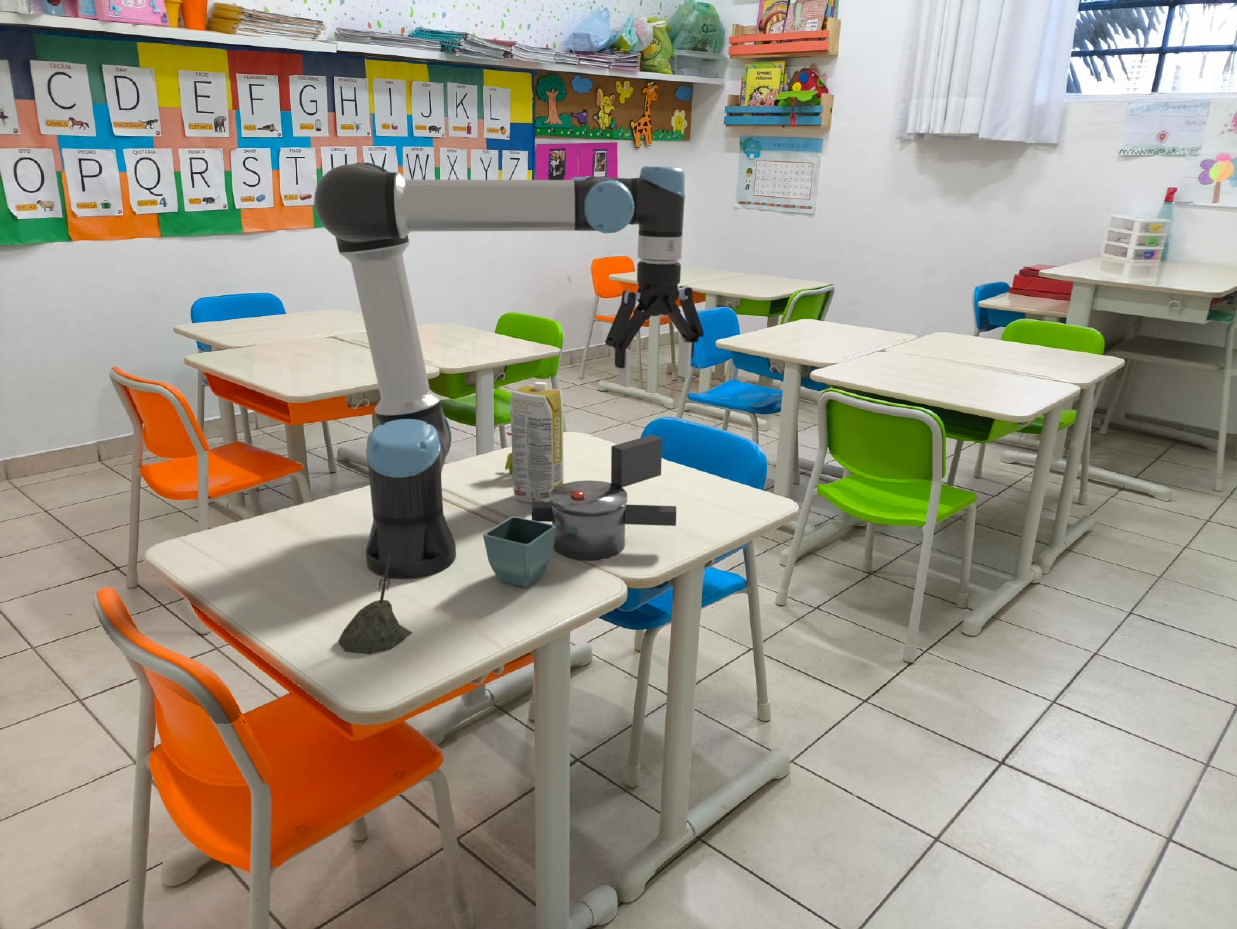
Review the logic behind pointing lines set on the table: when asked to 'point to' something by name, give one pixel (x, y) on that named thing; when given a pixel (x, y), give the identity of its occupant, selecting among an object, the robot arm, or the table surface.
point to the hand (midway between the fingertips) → (654, 380)
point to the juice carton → (536, 442)
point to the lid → (612, 479)
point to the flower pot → (520, 549)
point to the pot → (598, 528)
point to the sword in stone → (374, 627)
